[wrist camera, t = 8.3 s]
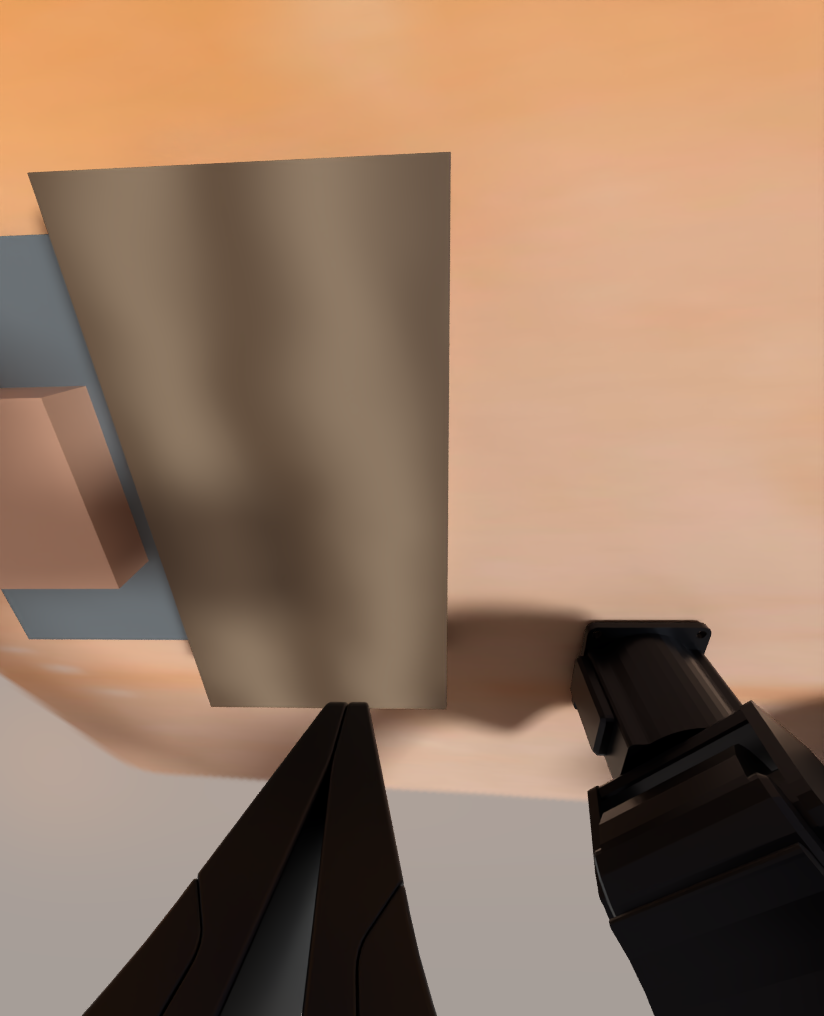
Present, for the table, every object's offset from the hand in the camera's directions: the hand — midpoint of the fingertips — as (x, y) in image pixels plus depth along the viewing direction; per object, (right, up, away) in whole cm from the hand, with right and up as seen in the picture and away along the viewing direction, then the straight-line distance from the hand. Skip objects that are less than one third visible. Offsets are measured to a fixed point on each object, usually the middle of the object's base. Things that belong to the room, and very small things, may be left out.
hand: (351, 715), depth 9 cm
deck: (-3, +6, +12) cm, 13 cm away
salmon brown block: (-16, +4, +10) cm, 19 cm away
